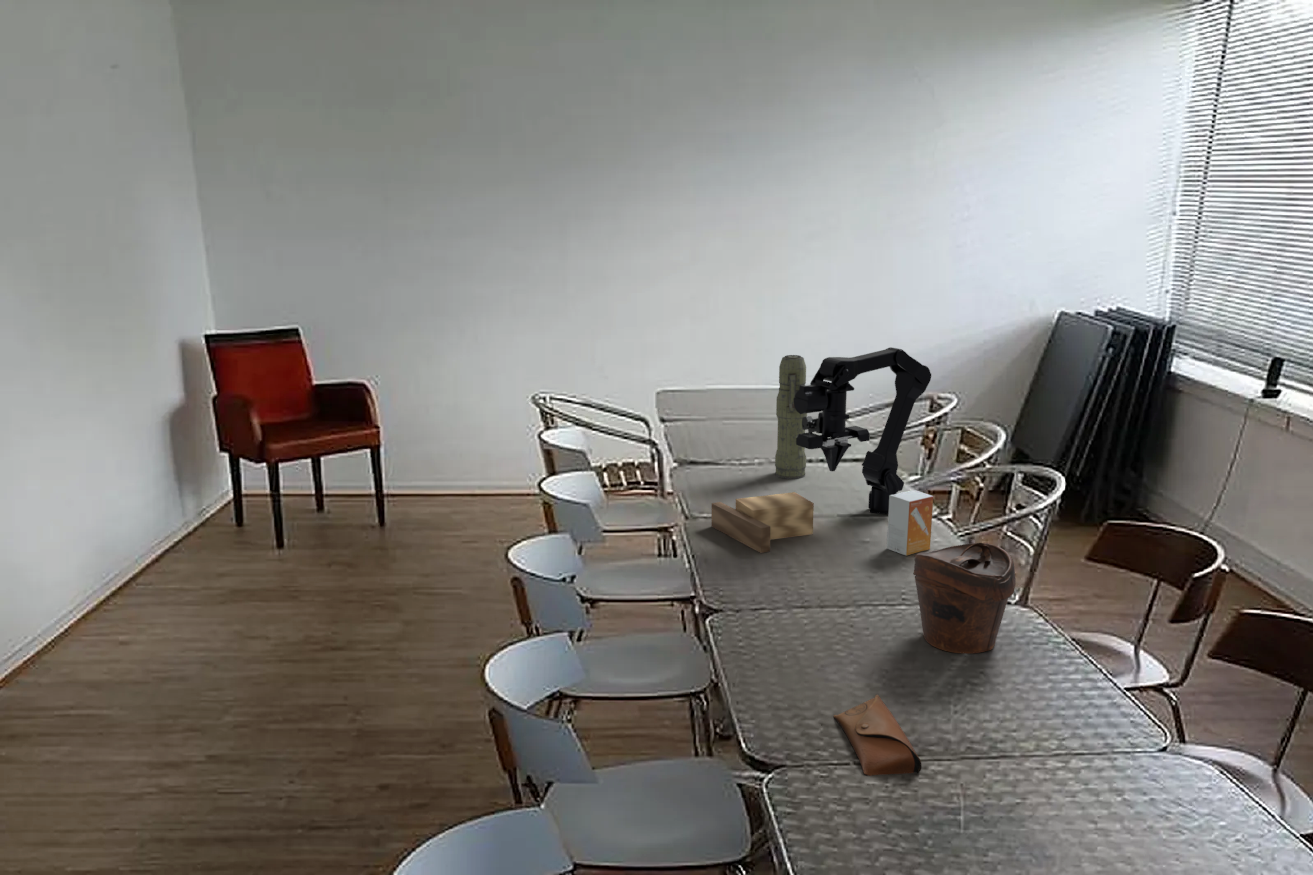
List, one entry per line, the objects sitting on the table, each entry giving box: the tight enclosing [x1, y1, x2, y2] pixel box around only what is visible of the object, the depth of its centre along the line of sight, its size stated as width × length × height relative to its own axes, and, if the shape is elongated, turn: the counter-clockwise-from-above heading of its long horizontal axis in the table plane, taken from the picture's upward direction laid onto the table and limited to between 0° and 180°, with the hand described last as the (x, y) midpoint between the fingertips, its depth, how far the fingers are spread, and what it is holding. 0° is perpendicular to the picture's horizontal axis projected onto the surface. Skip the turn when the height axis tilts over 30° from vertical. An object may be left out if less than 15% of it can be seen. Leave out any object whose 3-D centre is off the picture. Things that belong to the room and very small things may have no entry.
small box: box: [886, 489, 934, 557], centre depth 233 cm, size 8×6×13 cm
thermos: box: [774, 354, 808, 480], centre depth 293 cm, size 9×12×35 cm
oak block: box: [735, 491, 815, 541], centre depth 246 cm, size 16×10×8 cm, turn 109°
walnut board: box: [710, 501, 771, 554], centre depth 242 cm, size 2×22×6 cm, turn 28°
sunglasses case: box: [833, 694, 923, 777], centre depth 152 cm, size 18×7×7 cm
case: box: [913, 542, 1017, 655], centre depth 185 cm, size 18×20×18 cm
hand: (832, 471), depth 252 cm, fingers closed
